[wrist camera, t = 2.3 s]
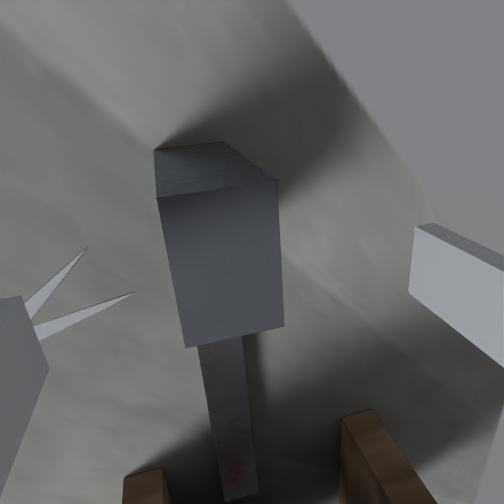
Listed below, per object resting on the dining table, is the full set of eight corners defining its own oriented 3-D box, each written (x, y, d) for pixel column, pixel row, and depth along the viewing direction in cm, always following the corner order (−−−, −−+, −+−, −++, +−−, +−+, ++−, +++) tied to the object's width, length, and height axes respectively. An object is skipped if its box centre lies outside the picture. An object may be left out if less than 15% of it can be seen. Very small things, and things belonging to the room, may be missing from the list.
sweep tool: (153, 150, 21) (156, 197, 12) (224, 141, 21) (277, 180, 13) (215, 484, 33) (239, 630, 24) (259, 471, 34) (298, 608, 25)
